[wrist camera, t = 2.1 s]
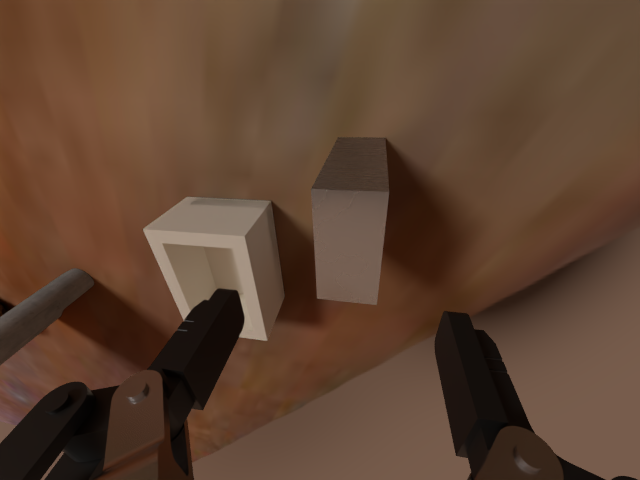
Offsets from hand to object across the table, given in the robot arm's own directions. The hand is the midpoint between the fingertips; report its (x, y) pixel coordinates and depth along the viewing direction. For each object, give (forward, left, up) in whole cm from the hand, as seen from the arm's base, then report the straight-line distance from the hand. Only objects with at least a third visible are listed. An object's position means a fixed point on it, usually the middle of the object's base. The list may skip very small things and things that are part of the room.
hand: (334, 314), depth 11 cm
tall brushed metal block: (0, 0, -14) cm, 14 cm away
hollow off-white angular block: (+12, +8, -14) cm, 20 cm away
